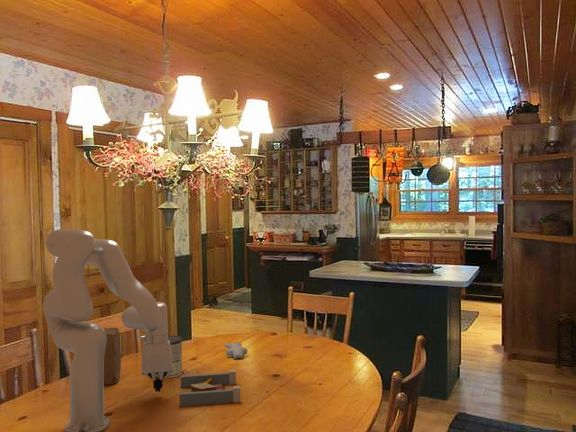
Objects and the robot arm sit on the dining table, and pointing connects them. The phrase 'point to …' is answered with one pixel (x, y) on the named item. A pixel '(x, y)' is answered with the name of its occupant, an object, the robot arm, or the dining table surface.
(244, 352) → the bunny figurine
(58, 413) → the dining table surface
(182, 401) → the chute
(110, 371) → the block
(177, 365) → the coffee can
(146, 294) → the robot arm
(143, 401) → the dining table surface
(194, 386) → the toy sandwich meal
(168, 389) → the dining table surface
